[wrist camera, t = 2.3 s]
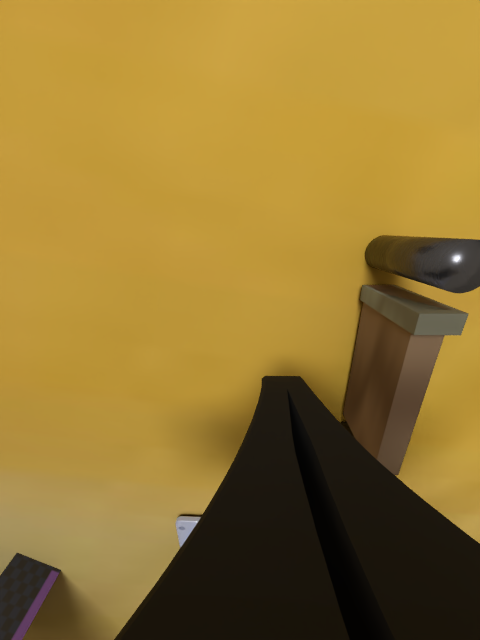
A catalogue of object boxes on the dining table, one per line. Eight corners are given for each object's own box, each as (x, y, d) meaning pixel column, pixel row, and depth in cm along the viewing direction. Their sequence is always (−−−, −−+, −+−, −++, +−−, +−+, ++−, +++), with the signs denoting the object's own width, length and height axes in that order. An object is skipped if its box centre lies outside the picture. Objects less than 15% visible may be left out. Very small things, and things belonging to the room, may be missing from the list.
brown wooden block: (365, 414, 15) (407, 483, 11) (339, 413, 15) (372, 482, 11) (394, 284, 12) (468, 313, 8) (362, 285, 12) (419, 313, 8)
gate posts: (358, 443, 16) (414, 554, 11) (329, 442, 16) (370, 552, 11) (405, 234, 11) (555, 240, 6) (364, 235, 11) (470, 242, 6)
